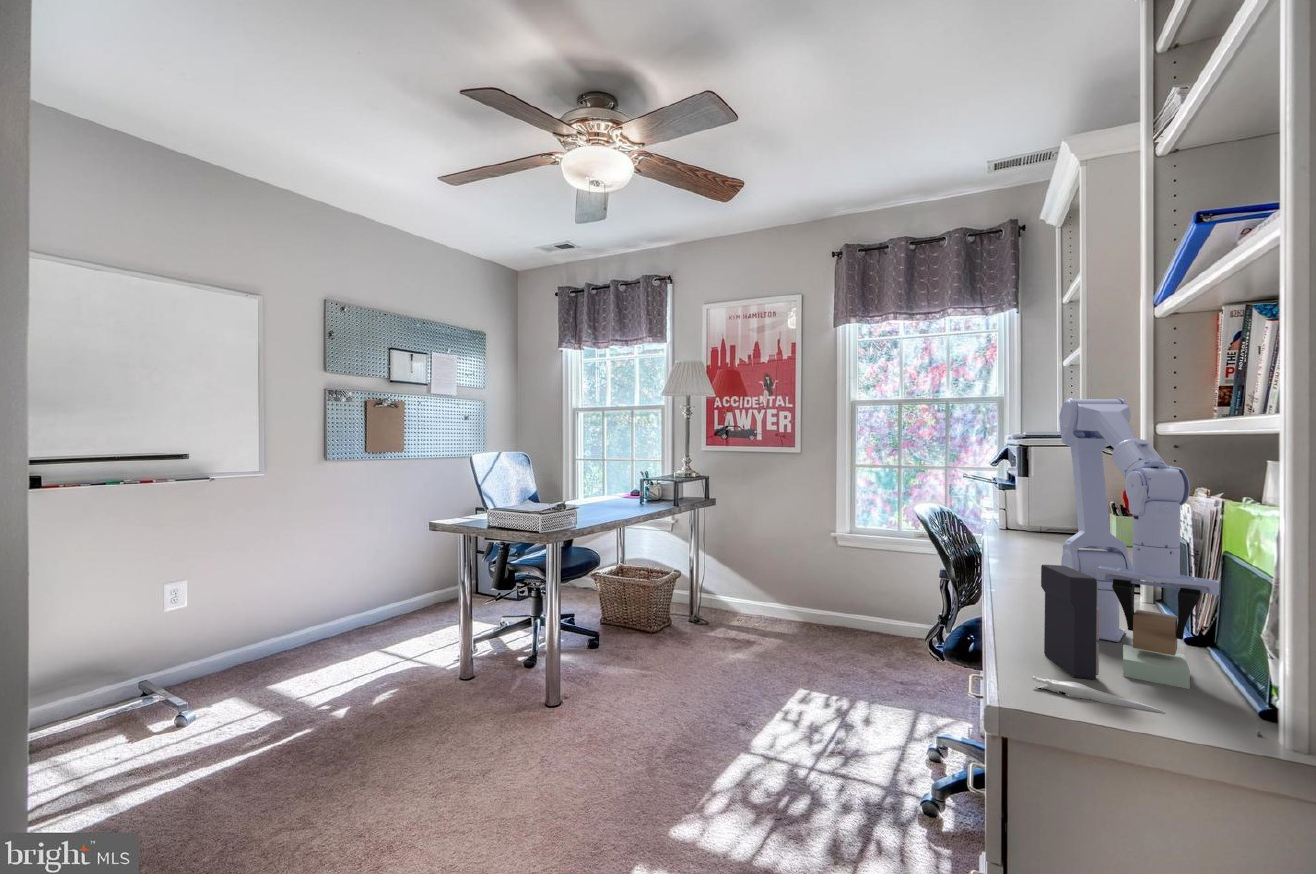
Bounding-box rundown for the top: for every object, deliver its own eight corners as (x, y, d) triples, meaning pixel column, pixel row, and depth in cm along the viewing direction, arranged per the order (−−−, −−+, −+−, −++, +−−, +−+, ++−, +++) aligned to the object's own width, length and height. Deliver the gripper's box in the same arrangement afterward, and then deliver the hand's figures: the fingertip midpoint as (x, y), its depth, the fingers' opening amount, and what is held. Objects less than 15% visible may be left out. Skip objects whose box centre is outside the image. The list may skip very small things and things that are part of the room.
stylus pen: (1030, 689, 87) (1031, 676, 87) (1031, 684, 89) (1032, 671, 89) (1167, 723, 79) (1168, 708, 79) (1164, 716, 81) (1165, 701, 81)
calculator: (1102, 681, 91) (1103, 579, 91) (1069, 678, 92) (1070, 577, 92) (1068, 656, 102) (1069, 565, 102) (1039, 654, 103) (1040, 563, 103)
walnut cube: (1136, 640, 99) (1136, 609, 99) (1177, 648, 96) (1177, 615, 96) (1132, 647, 95) (1133, 615, 95) (1174, 655, 92) (1175, 622, 92)
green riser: (1122, 663, 100) (1123, 644, 100) (1184, 674, 96) (1184, 654, 96) (1123, 679, 93) (1123, 659, 93) (1189, 691, 89) (1189, 670, 89)
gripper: (1094, 542, 98) (1094, 628, 97) (1218, 554, 88) (1218, 650, 88) (1101, 538, 103) (1100, 620, 103) (1219, 549, 93) (1218, 640, 93)
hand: (1155, 633), depth 95 cm, fingers open, 5 cm apart
